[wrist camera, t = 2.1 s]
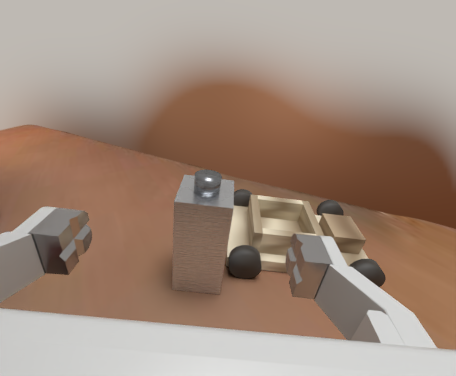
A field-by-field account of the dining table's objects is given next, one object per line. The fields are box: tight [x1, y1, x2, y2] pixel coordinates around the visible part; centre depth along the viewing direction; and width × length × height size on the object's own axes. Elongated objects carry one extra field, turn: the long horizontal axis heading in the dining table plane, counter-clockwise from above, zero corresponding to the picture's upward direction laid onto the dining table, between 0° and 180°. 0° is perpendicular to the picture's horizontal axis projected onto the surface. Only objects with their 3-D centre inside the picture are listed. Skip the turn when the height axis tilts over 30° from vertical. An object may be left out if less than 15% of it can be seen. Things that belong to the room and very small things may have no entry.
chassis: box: [226, 189, 385, 287], centre depth 34 cm, size 18×14×4 cm
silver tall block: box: [172, 170, 234, 295], centre depth 26 cm, size 5×5×12 cm
